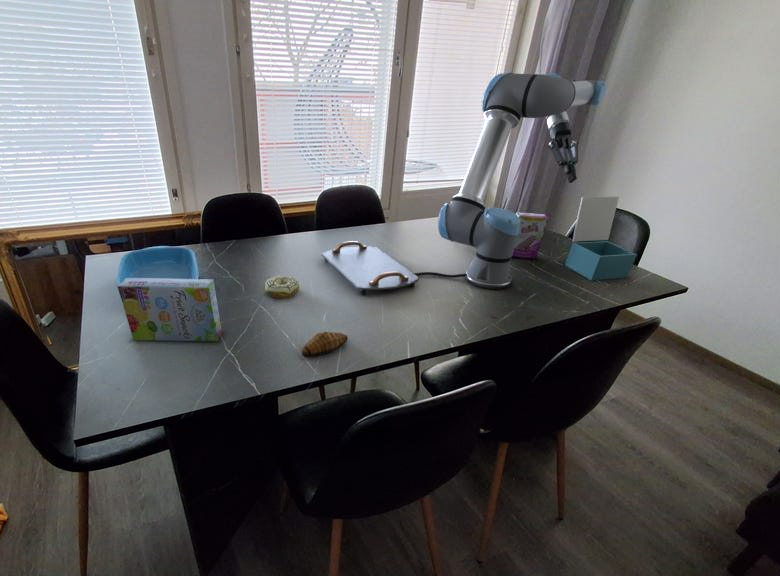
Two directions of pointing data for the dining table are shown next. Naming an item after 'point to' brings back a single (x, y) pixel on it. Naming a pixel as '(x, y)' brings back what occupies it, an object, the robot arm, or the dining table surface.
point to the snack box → (171, 309)
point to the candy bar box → (529, 235)
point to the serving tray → (369, 267)
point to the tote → (600, 260)
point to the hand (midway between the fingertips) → (572, 180)
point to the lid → (595, 218)
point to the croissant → (324, 343)
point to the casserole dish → (158, 264)
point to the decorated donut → (281, 286)
